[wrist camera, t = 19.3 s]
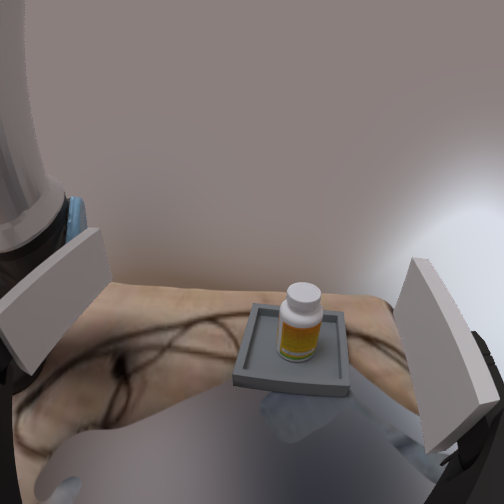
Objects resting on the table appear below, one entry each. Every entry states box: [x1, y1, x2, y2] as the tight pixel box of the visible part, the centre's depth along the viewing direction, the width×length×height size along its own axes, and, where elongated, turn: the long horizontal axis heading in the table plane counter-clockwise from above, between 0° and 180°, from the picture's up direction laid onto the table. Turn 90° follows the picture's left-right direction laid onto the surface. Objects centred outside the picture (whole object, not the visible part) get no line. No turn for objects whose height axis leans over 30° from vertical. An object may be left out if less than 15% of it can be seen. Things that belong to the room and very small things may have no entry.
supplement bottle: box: [276, 282, 323, 362], centre depth 34 cm, size 5×5×10 cm
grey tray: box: [232, 303, 350, 397], centre depth 37 cm, size 14×14×2 cm
